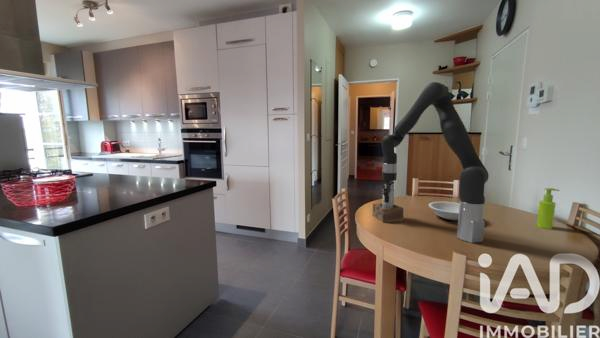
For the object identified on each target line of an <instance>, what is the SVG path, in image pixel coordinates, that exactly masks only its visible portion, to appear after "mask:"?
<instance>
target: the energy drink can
mask: <svg viewBox="0 0 600 338" xmlns="http://www.w3.org/2000/svg"><path fill="white" fill-rule="evenodd" d="M388 190H390V189H388ZM386 193H387V192H386ZM384 200H385V196H384V195H383V194H382V202H381V203H382V207H384V208H394V204H395V187H394V188H393V186H392V187H391V192H390V194H389V202H388V203H385V202H384Z"/></svg>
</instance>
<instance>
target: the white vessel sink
mask: <svg viewBox="0 0 600 338" xmlns="http://www.w3.org/2000/svg"><path fill="white" fill-rule="evenodd" d="M459 206H460V202H454V201H433V202H430V203H428V207H429V208H431V210H432V211H433V213H434V214H435V215H437V216H438V217H441V219H446V220H451V221H458V217H459Z"/></svg>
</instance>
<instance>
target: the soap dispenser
mask: <svg viewBox="0 0 600 338" xmlns="http://www.w3.org/2000/svg"><path fill="white" fill-rule="evenodd" d="M544 190H545V191H546V193H545V194H543V197H542V198H543V200H539V204H538V209H537V210H538V211H537V212H538V213H537V218H536V219H537V220H536V227H537V228H539V229H540V228H541V229H545V230H552V229H553V225H554V216H555V212H556V211H555V209H556V204H557V203H556V202H554V199H553V198H554V195H553V194H552V191H556V192H557V191H558V192H560V189H556V188H553V187H552V188H550V187H548V188H546V187H545V188H544Z"/></svg>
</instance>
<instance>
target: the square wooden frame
mask: <svg viewBox="0 0 600 338" xmlns="http://www.w3.org/2000/svg"><path fill="white" fill-rule="evenodd" d="M382 203H383V202H380V203H372V213H371V214H372V217H373V218H375V219H377V220H378V221H380V222H381V223H393V222H404V207H401V206H399V205H397V204H396V203H394V208H384V207H382Z"/></svg>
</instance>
